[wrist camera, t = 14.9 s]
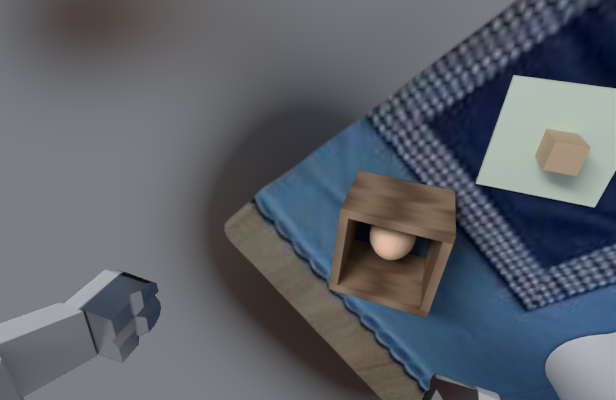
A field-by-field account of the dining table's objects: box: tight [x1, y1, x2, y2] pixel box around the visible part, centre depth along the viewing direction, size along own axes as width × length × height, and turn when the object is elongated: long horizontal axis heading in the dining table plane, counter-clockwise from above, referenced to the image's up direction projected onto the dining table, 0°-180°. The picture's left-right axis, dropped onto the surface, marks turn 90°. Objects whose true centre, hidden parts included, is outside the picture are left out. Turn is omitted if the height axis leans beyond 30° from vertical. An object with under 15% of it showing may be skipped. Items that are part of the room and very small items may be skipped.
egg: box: [370, 224, 416, 260], centre depth 47 cm, size 6×6×8 cm
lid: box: [476, 75, 616, 207], centre depth 38 cm, size 12×12×5 cm
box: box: [329, 171, 456, 318], centre depth 46 cm, size 12×12×10 cm
